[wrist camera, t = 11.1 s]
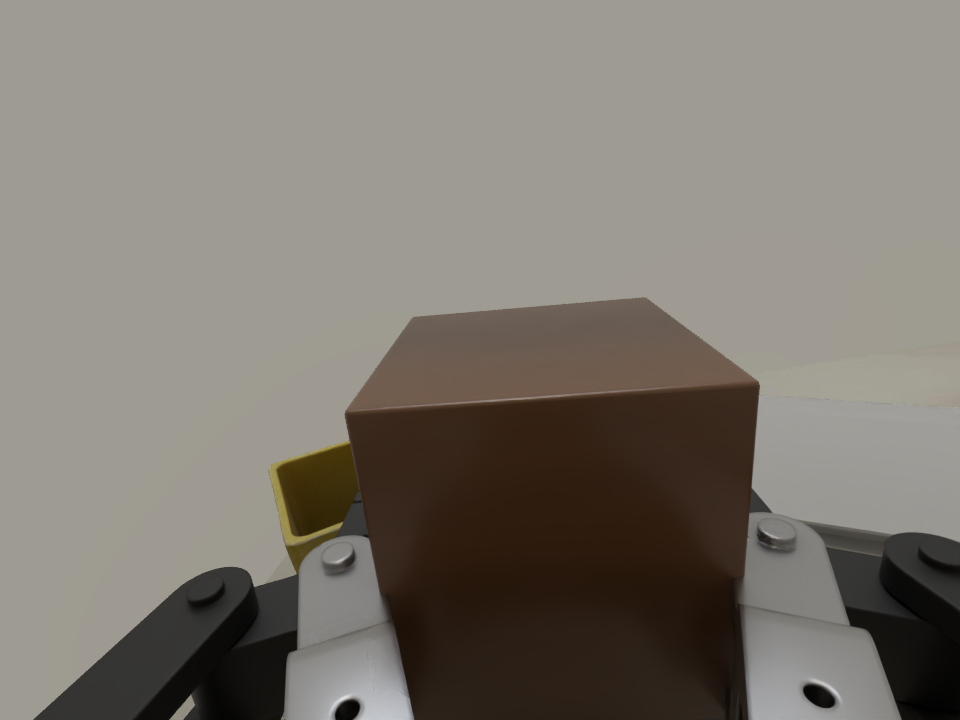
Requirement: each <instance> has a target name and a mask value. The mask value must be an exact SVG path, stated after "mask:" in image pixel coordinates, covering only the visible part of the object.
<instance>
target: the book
mask: <svg viewBox="0 0 960 720" xmlns="http://www.w3.org/2000/svg"><path fill="white" fill-rule="evenodd" d="M752 489H753V490H754V491H755V492H756V493H757V494H758V496H759V497H760V498H761V499H762V500H763V502H764V503H765V504H766V505H767V506H768V508H769V509H770V510H771V511H772V512H773V513H775V514H780V515H784V516H787V517H790V518H793V519H796V520H798V521H800V522H802V523H804V524H806V525H807V526H809V527H810V528H812V529H813V530H814V531H815V532H816V533H818V534H819V536H820V537H821V538H822V540H823V542H824V544H825V547H828V548H833V549H838V550H844V551H850V552H856V553H862V554H868V555H875V556H881V557H882V554H883V548H884V544H885V541H886V540H887V539H888V538H889V537H891V536H892V535H895V534H898V533H904V532H918V533H927V534H933V535H937V536H942V537H945V538H949V539H952V540H955V541H957V542H960V408H954V407H938V406H922V405H907V404H891V403H875V402H860V401H844V400H828V399H813V398H797V397H781V396H766V395H759V402H758V415H757V427H756V439H755V452H754V464H753V476H752Z"/></svg>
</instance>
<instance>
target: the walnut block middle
mask: <svg viewBox="0 0 960 720" xmlns="http://www.w3.org/2000/svg"><path fill="white" fill-rule="evenodd" d="M759 390H760V385H759V382H758V381H757V380H756V379H755V378H753V377H752V376H751V375H749V374H748V373H746V372H745V371H744V370H742V369H741V368H740V367H738V366H737V365H736V364H734V363H733V362H732V361H730V360H729V359H727V358H726V357H725V356H724V355H722V354H721V353H720V352H718V351H717V350H716V349H714V348H713V347H711V346H710V345H709V344H707V343H706V342H705V341H703V340H702V339H701V338H699V337H698V336H697V335H695V334H694V333H693V332H691V331H690V330H689V329H687V328H686V327H685V326H683V325H682V324H681V323H679V322H678V321H677V320H675V319H674V318H673V317H671V316H670V315H668V314H667V313H666V312H664V311H663V310H661V309H660V308H659V307H658V306H656V305H655V304H654V303H652V302H651V301H650V300H648V299H647V298H634V299H633V298H632V299H621V300H609V301H597V302H585V303H575V304H562V305H550V306H538V307H527V308H515V309H503V310H492V311H479V312H468V313H456V314H445V315H433V316H421V317H414V318H412V319H411V320H410V322H409V323H408V325H407V326H406V327H405V329H404V330H403V331H402V333H401V334H400V336H399V337H398V339H397V340H396V341H395V343H394V344H393V346H392V347H391V348H390V350H389V351H388V352H387V354H386V355H385V357H384V358H383V359H382V361H381V362H380V364H379V365H378V366H377V368H376V369H375V371H374V372H373V374H372V375H371V376H370V378H369V379H368V380H367V382H366V383H365V385H364V386H363V387H362V389H361V390H360V392H359V393H358V394H357V396H356V397H355V399H354V400H353V401H352V403H351V404H350V405H349V407H348V408H347V410H346V411H345V419H346V424H347V429H348V434H349V439H350V445H351V450H352V455H353V460H354V465H355V470H356V475H357V480H358V485H359V491H360V496H361V501H362V506H363V511H364V516H365V521H366V526H367V531H368V536H369V541H370V547H371V552H372V557H373V562H374V567H375V572H376V577H377V582H378V587H379V592H380V594H387V595H388V600H389V605H390V610H391V614H392V619H393V622H394V626H395V631H396V636H397V640H398V645H399V650H400V655H401V660H402V664H403V669H404V674H405V679H406V683H407V688H408V693H409V698H410V702H411V707H412V712H413V717H414V720H703V719H724V702H725V688H726V687H731V684H732V671H733V623H732V605H731V604H732V590H733V578H738V577H743V576H744V575H745V563H746V550H747V538H748V526H749V513H750V501H751V489H752V476H753V464H754V452H755V439H756V427H757V415H758V402H759Z"/></svg>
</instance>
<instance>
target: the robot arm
mask: <svg viewBox="0 0 960 720" xmlns="http://www.w3.org/2000/svg"><path fill="white" fill-rule="evenodd" d="M731 605H732V623H733V671H732V684H731V687H726V688H725V702H724V719H703V720H960V542H957V541H955V540H952V539H949V538H945V537H942V536H937V535H933V534H927V533H918V532H904V533H898V534H895V535H892V536H891V537H889V538H888V539H887V540H886V541H885V544H884V548H883V554H882V557H881V556H875V555H868V554H861V553H855V552H848V551H842V550H836V549H831V548H828V547H825V544H824V542H823V540H822V538H821V537H820V536H819V534H818V533H816V532H815V531H814V530H813V529H812V528H810V527H809V526H807V525H806V524H804V523H802V522H800V521H798V520H796V519H793V518H790V517H787V516H784V515H780V514H775V513H773V512H772V511H771V510H770V509H769V508H768V506H767V505H766V504H765V503H764V502H763V500H762V499H761V498H760V497H759V496H758V494H757V493H756V492H755V491H754V490H753V489H751V501H750V513H749V526H748V538H747V550H746V563H745V575H744V576H743V577H738V578H733V590H732V604H731ZM190 695H192V698H193V700H194V703H195V706H194V707H193V709H192V710H191V711H190V712H189V714H188V715H187V716H186V717H185V718H184V720H280V719H281V718H282V716H283V713H284V720H414V717H413V712H412V707H411V702H410V698H409V693H408V688H407V683H406V679H405V674H404V669H403V664H402V660H401V655H400V650H399V645H398V640H397V636H396V631H395V626H394V622H393V619H392V614H391V610H390V605H389V600H388V595H387V594H380V592H379V587H378V582H377V577H376V572H375V567H374V562H373V557H372V552H371V547H370V541H369V536H368V531H367V526H366V521H365V516H364V511H363V506H362V501H361V496H360V491H359V493H357V494H356V496H355V498H354V501H353V504H352V505H351V507H350V509H349V511H348V513H347V515H346V517H345V519H344V521H343V524H342V526H341V528H340V530H339V532H338V534H337V536H336V538H334V539H331V540H329V541H327V542H324V543H322V544H321V545H319V546H317V547H316V548H314V549H313V550H312V551H311V552H310V553H309V554H308V555H307V556H306V557H305V558H304V560H303V561H302V563H301V565H300V569H299V574H297V575H294V576H291V577H288V578H285V579H282V580H278V581H274V582H271V583H267V584H264V585H260V586H257V587H254V586H253V583H252V579H251V576H250V574H249V573H248V572H247V571H246V570H244V569H242V568H238V567H224V568H218V569H214V570H211V571H208V572H205V573H203V574H201V575H198V576H196V577H195V578H193V579H191V580H189V581H187V582H186V583H185V584H183V585H182V586H180V587H179V588H178V589H177V590H176V591H174V592H173V593H172V594H171V595H170V596H169V597H168V598H167V599H166V600H165V601H163V602H162V603H161V604H160V605H159V606H158V607H157V608H156V609H155V610H154V611H152V612H151V613H150V614H149V615H148V616H147V617H146V618H145V619H144V620H143V621H141V622H140V623H139V624H138V625H137V626H136V627H135V628H134V629H133V630H132V631H130V632H129V633H128V634H127V635H126V636H125V637H124V638H123V639H122V640H120V641H119V642H118V643H117V644H116V645H115V646H114V647H113V648H112V649H111V650H109V651H108V652H107V653H106V654H105V655H104V656H103V657H102V658H101V659H100V660H98V661H97V662H96V663H95V664H94V665H93V666H92V667H91V668H90V669H89V670H88V671H86V672H85V673H84V674H83V675H82V676H81V677H80V678H79V679H78V680H76V682H74V683H73V684H72V685H71V686H70V687H69V688H68V689H67V690H65V691H64V692H63V693H62V694H61V695H60V696H59V697H58V698H57V699H56V700H55V701H54V702H52V703H51V704H50V705H49V706H48V707H47V708H46V709H45V710H43V711H42V712H41V713H40V714H39V715H38V716H37V717H36V718H35V719H34V720H169V719H170V718H171V717H172V716H173V715H174V714H175V712H176V711H177V710H178V709H179V708H180V707H181V705H182V704H183V703H184V702H185V701H186V699H187V698H188V697H189V696H190Z"/></svg>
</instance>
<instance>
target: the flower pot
mask: <svg viewBox="0 0 960 720" xmlns="http://www.w3.org/2000/svg"><path fill="white" fill-rule="evenodd" d="M269 476H270V479H271V482H272V487H273V491H274V496H275V501H276V505H277V510H278V514H279V519H280V526H281V531H282V536H283V540H284V543H285V546H286V549H287V551H288V554H289V557H290V559H291V561H292V564H293V566H294V568H295V571H296V573H297V574H299V569H300V565H301V563H302V561H303V560H304V558H305V557H306V556H307V555H308V554H309V553H310V552H311V551H312V550H313V549H314V548H316V547H317V546H319V545H321V544H322V543H324V542H327V541H329V540H331V539H334V538H336V536H337V534H338V532H339V530H340V528H341V526H342V524H343V521H344V519H345V517H346V515H347V513H348V511H349V509H350V507H351V505H352V504H353V501H354V498H355V496H356V494H357V493H359V485H358V480H357V475H356V470H355V465H354V460H353V455H352V450H351V445H350V440H349V441H346V442H343V443H339V444H337V445H333V446H329V447H326V448H323V449H320V450H316V451H313V452H310V453H306V454H303V455H300V456H296V457H293V458H289V459H286V460H283V461H280V462H277V463H274V464H272V465H271V466H270V467H269Z"/></svg>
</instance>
